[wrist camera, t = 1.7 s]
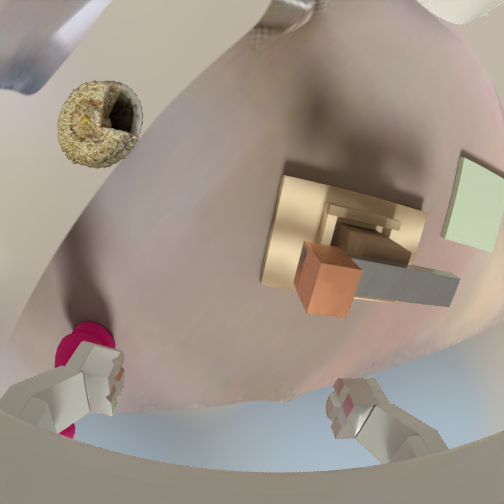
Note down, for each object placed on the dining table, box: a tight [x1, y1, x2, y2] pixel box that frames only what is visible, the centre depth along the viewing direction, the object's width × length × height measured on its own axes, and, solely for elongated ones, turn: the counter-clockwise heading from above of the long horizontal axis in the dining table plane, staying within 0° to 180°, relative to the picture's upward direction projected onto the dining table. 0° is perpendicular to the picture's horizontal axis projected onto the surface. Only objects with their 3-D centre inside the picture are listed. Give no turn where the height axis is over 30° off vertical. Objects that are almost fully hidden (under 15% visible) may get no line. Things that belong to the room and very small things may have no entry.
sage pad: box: [441, 157, 504, 253], centre depth 34 cm, size 11×11×1 cm
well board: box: [260, 175, 427, 304], centre depth 33 cm, size 12×18×4 cm, turn 79°
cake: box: [57, 81, 143, 168], centre depth 27 cm, size 10×10×5 cm
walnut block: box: [330, 221, 412, 302], centre depth 30 cm, size 5×5×8 cm
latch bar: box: [293, 241, 460, 318], centre depth 23 cm, size 4×16×5 cm, turn 79°
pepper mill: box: [55, 321, 115, 439], centre depth 28 cm, size 7×7×20 cm
